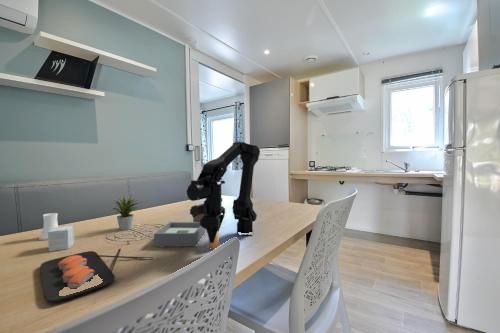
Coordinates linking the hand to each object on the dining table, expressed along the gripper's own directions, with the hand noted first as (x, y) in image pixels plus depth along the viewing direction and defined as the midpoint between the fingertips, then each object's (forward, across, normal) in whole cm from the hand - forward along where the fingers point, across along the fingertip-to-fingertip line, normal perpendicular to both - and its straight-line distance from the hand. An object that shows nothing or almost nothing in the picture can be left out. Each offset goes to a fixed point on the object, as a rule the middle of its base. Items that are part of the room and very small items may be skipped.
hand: (214, 238), depth 87 cm
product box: (+4, 0, -58) cm, 58 cm away
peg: (+4, 0, 0) cm, 4 cm away
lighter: (+4, -26, -11) cm, 28 cm away
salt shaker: (+4, -11, -72) cm, 73 cm away
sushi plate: (+4, +15, -31) cm, 35 cm away
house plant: (+4, -22, -46) cm, 51 cm away
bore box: (+4, -9, -15) cm, 18 cm away
